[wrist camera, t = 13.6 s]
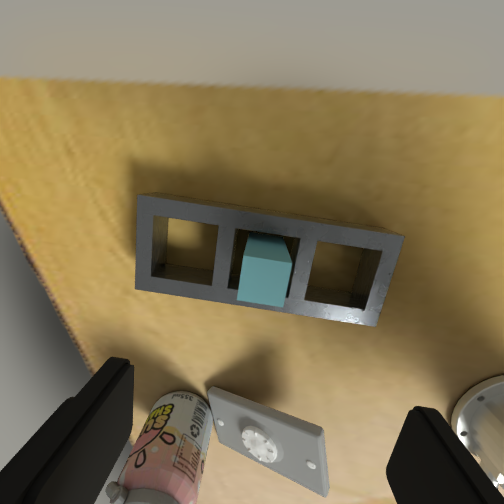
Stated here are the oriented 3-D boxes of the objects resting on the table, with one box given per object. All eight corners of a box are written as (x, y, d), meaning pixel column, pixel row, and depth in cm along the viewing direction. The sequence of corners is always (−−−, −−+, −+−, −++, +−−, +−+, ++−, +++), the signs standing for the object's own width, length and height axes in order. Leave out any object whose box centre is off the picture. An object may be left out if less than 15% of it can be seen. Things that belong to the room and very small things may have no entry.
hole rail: (360, 307, 29) (375, 326, 25) (151, 274, 29) (134, 289, 25) (384, 228, 27) (404, 236, 23) (155, 192, 27) (137, 194, 23)
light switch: (201, 396, 31) (317, 445, 24) (229, 365, 36) (333, 397, 28) (214, 449, 34) (324, 509, 26) (239, 412, 38) (338, 454, 31)
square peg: (277, 268, 28) (283, 307, 20) (244, 263, 28) (236, 300, 20) (283, 236, 27) (292, 263, 19) (249, 231, 27) (243, 255, 19)
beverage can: (179, 448, 36) (139, 574, 25) (135, 411, 35) (71, 526, 23) (227, 416, 34) (209, 537, 23) (183, 375, 33) (140, 482, 21)
